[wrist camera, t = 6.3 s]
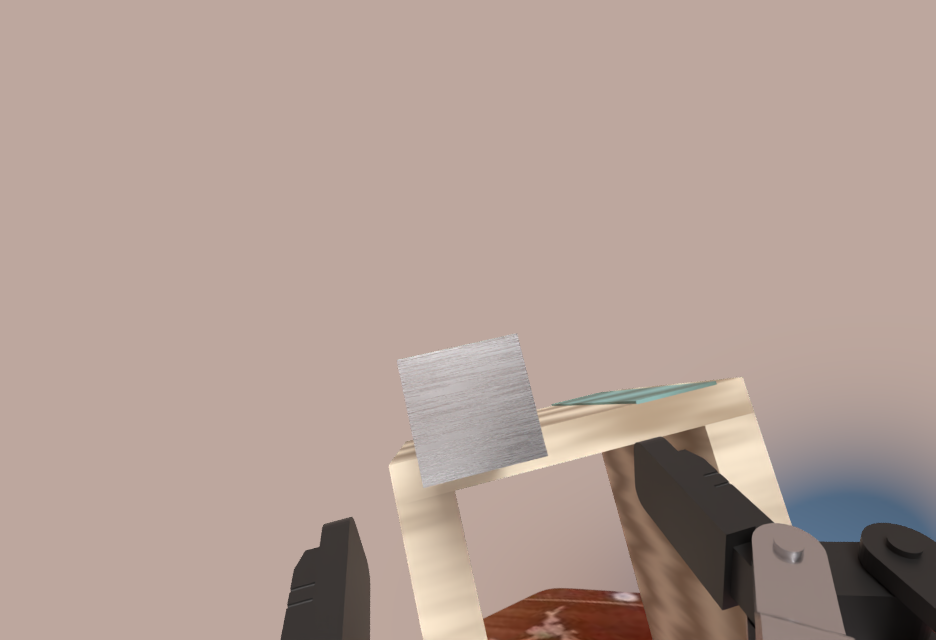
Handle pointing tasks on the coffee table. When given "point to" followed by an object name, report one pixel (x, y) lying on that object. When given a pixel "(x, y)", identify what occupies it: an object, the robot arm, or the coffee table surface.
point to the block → (471, 410)
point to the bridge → (614, 434)
